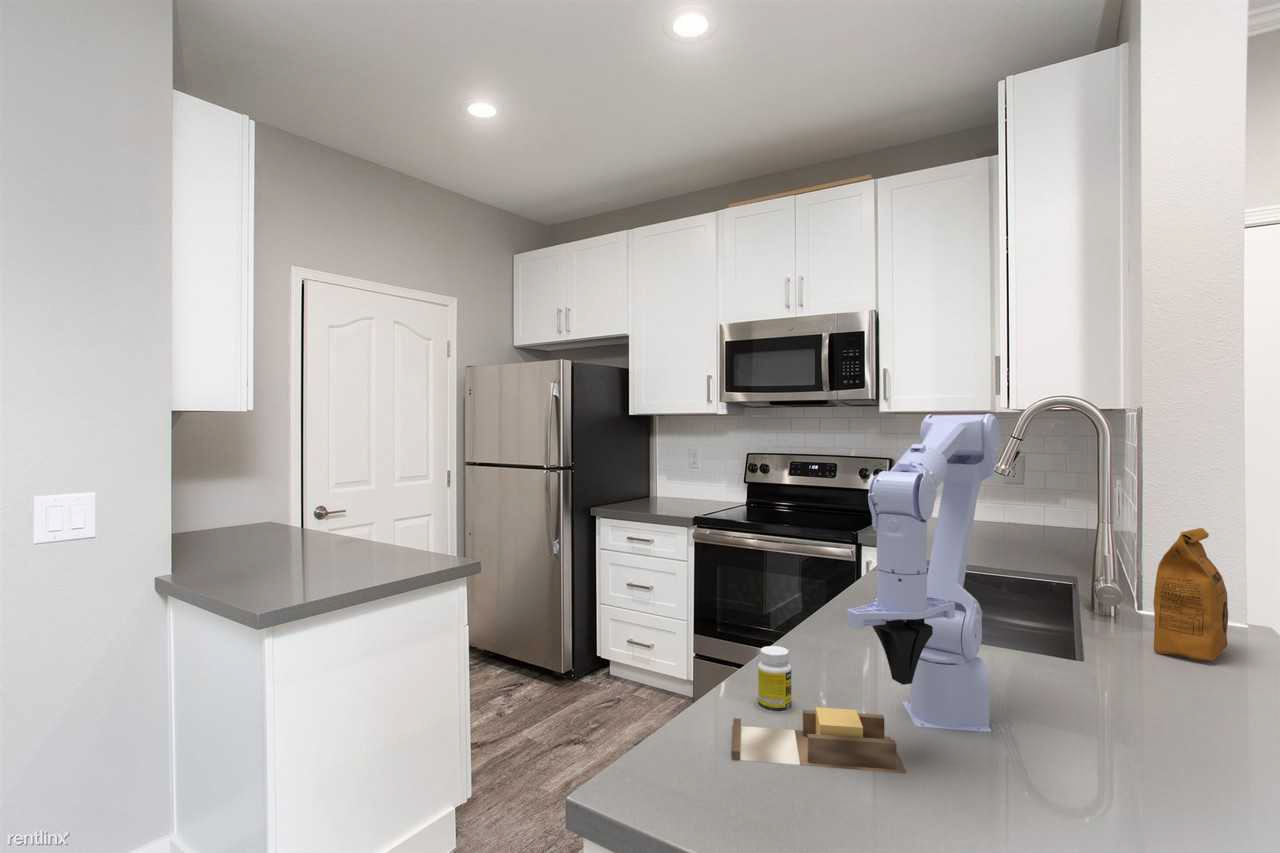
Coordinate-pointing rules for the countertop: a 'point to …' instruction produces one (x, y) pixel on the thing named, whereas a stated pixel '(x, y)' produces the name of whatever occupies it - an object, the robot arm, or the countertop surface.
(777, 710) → the supplement bottle
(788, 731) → the walnut chute
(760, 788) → the countertop surface
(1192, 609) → the coffee package
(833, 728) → the ochre block
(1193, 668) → the countertop surface
